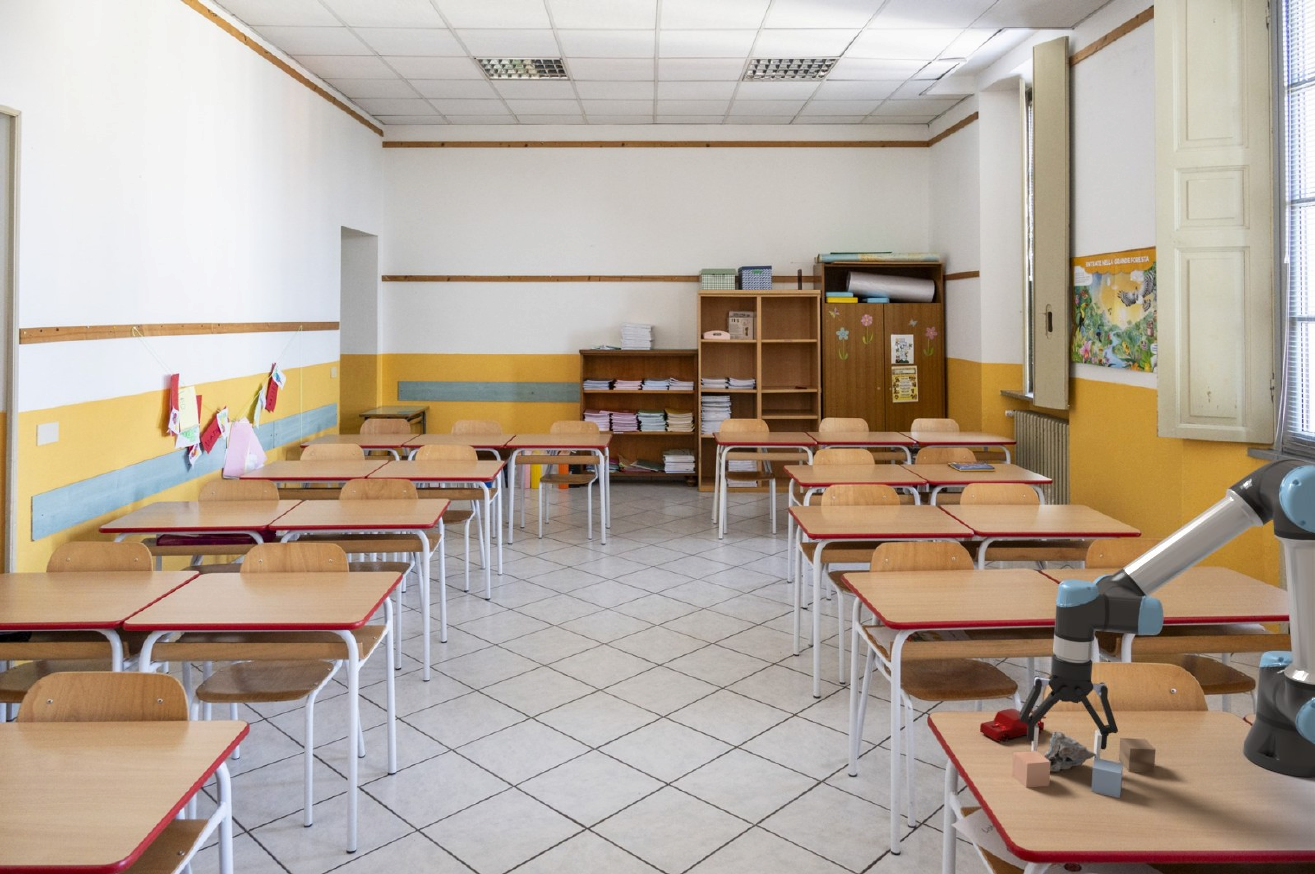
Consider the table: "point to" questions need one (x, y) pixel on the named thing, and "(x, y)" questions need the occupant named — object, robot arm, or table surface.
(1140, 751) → the walnut cube
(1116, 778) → the slate-blue cube
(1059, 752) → the mineral specimen
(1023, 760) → the salmon-pink cube
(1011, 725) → the toy car
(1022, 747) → the table surface
